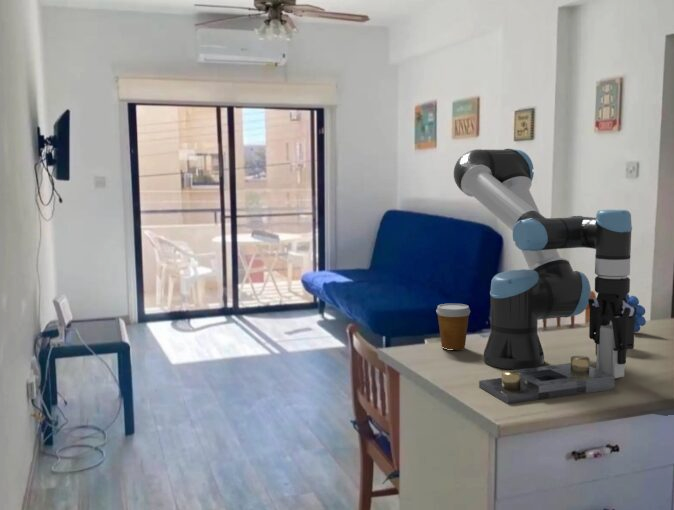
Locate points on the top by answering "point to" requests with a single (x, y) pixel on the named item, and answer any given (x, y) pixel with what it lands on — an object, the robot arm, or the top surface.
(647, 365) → the top surface
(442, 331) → the disposable coffee cup
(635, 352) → the top surface
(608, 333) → the beverage can
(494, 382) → the marble inkwell stand
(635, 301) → the grapes
